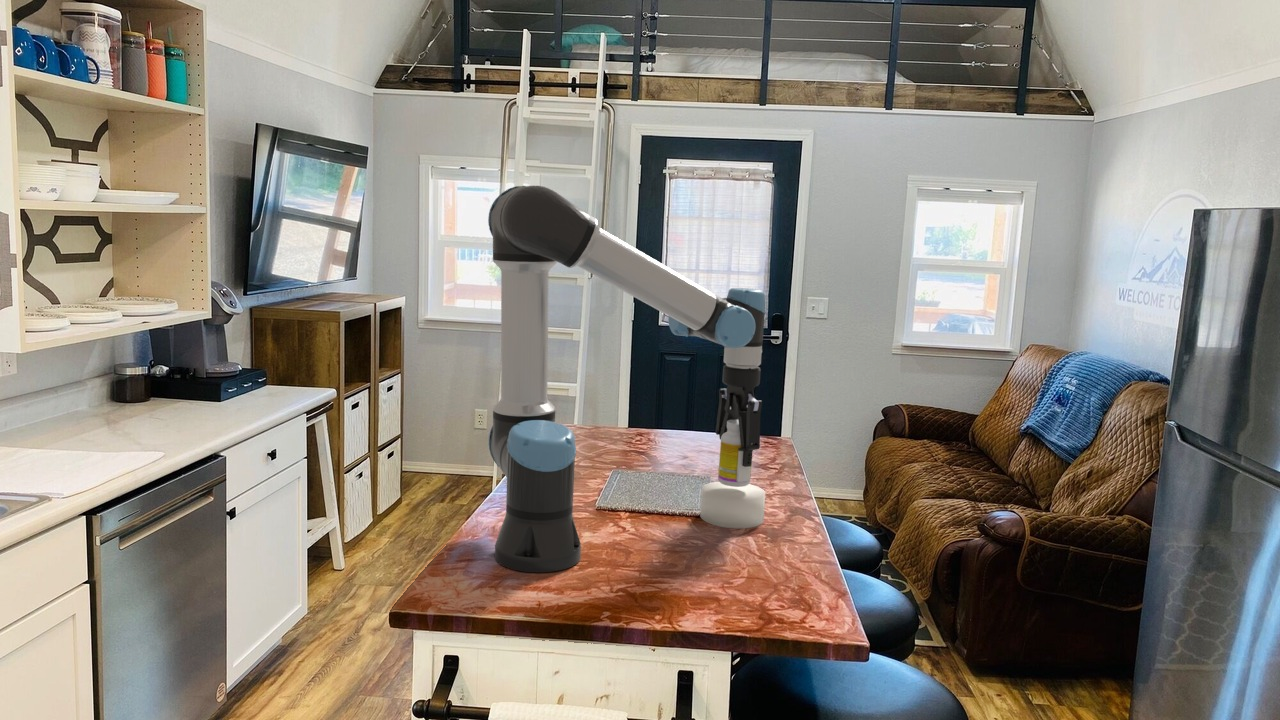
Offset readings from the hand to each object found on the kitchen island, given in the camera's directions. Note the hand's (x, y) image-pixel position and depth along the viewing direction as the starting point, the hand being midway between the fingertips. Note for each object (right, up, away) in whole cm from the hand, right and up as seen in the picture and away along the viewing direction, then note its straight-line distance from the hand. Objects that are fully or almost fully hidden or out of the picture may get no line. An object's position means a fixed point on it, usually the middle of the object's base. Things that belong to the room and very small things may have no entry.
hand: (734, 475), depth 188 cm
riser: (0, -9, +1) cm, 9 cm away
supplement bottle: (0, -2, 0) cm, 2 cm away
